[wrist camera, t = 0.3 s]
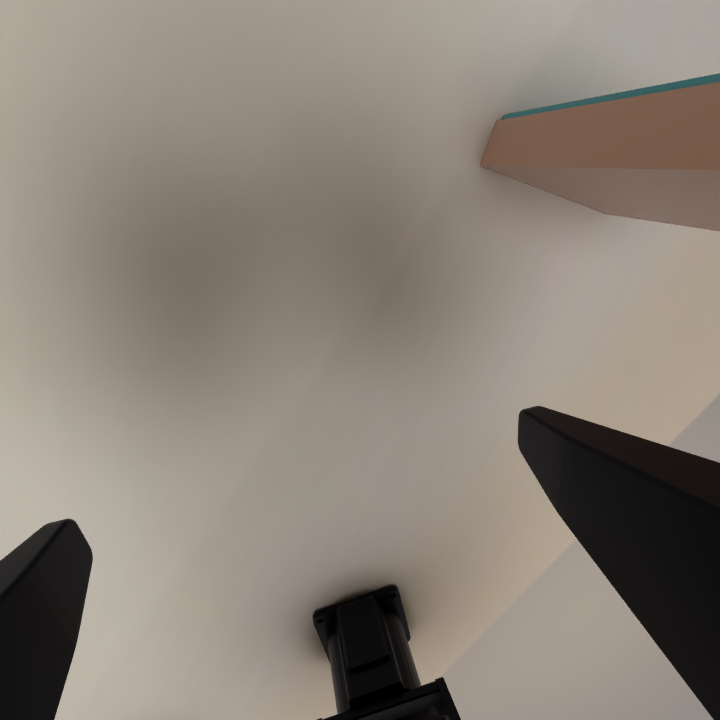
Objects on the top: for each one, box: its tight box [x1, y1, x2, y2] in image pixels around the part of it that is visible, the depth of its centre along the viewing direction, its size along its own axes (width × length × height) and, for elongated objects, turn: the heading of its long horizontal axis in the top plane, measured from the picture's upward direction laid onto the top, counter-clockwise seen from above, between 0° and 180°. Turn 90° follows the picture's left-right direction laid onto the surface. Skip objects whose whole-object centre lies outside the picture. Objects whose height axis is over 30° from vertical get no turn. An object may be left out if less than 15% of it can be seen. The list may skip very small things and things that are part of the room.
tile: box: [480, 74, 720, 231], centre depth 15 cm, size 2×8×14 cm, turn 73°
